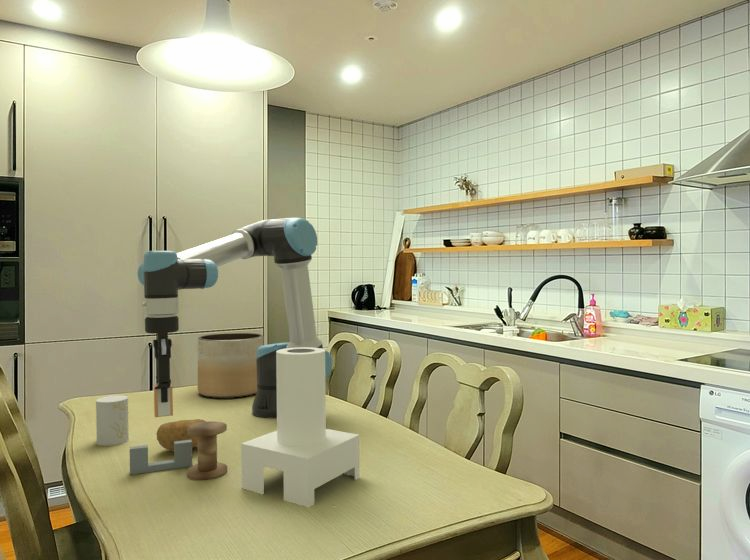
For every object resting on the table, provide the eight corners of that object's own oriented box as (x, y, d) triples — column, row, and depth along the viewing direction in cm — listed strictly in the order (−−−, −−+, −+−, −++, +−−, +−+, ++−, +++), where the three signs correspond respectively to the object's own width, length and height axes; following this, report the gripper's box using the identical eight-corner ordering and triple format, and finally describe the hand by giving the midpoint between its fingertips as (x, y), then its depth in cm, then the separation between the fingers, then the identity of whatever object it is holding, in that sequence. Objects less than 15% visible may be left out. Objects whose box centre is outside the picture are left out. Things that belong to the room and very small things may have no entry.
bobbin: (224, 463, 138) (223, 419, 138) (229, 476, 130) (229, 429, 130) (186, 469, 135) (185, 423, 134) (189, 482, 126) (188, 434, 126)
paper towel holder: (308, 507, 113) (307, 360, 112) (241, 488, 123) (240, 353, 122) (359, 477, 129) (358, 348, 128) (296, 463, 139) (295, 343, 138)
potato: (216, 449, 149) (215, 419, 149) (161, 460, 141) (161, 429, 141) (204, 440, 157) (203, 412, 157) (151, 450, 149) (151, 420, 149)
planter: (185, 398, 208) (184, 339, 208) (215, 384, 233) (215, 332, 233) (249, 401, 204) (249, 340, 203) (273, 386, 229) (273, 332, 228)
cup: (116, 446, 152) (115, 402, 152) (90, 444, 154) (89, 401, 154) (134, 437, 160) (134, 396, 160) (109, 436, 162) (109, 395, 162)
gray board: (191, 463, 138) (191, 439, 138) (192, 466, 137) (191, 441, 137) (130, 471, 133) (129, 446, 133) (129, 474, 131) (129, 449, 131)
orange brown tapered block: (171, 411, 136) (171, 383, 135) (172, 415, 132) (172, 386, 132) (154, 413, 134) (153, 384, 134) (154, 417, 131) (154, 387, 131)
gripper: (143, 313, 139) (146, 406, 139) (145, 319, 123) (148, 424, 124) (175, 312, 142) (177, 403, 142) (181, 317, 126) (183, 420, 127)
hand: (163, 412), depth 133 cm, fingers closed on orange brown tapered block, 4 cm apart
